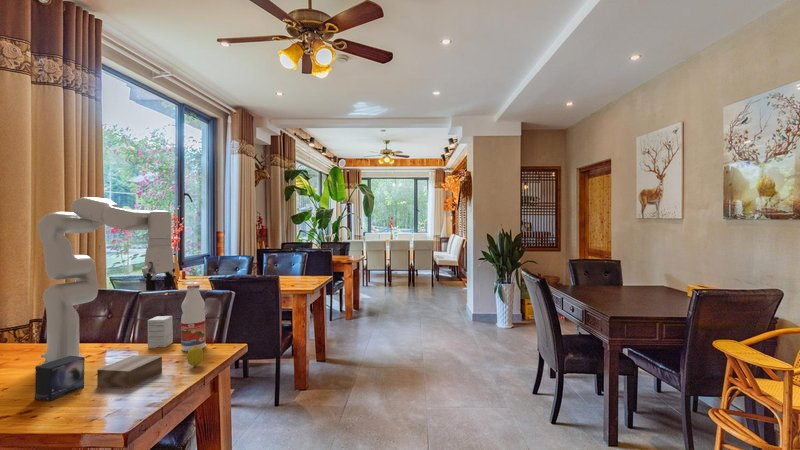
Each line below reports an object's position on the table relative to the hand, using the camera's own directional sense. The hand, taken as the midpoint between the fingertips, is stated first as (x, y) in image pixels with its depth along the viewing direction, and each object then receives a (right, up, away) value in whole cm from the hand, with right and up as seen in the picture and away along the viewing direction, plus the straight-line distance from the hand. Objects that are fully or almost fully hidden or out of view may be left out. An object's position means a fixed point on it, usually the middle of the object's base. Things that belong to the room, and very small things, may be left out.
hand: (160, 288), depth 139 cm
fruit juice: (-1, -31, +23) cm, 39 cm away
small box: (-19, -31, -20) cm, 41 cm away
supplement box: (-18, -31, +28) cm, 46 cm away
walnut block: (-4, -31, -9) cm, 32 cm away
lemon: (+13, -31, +2) cm, 33 cm away
